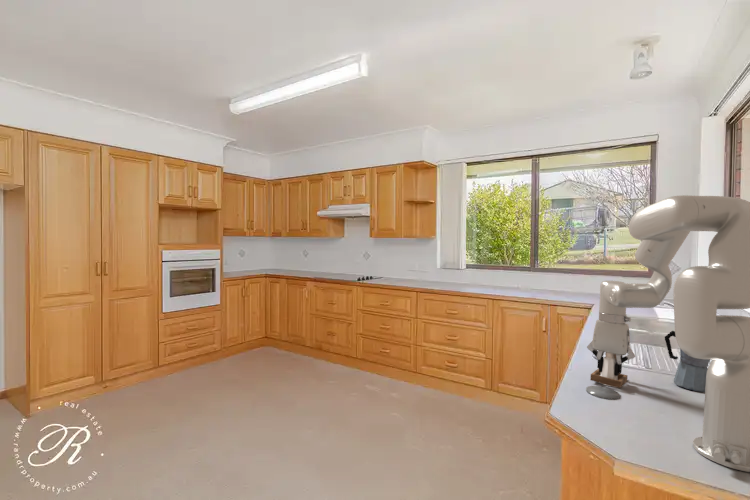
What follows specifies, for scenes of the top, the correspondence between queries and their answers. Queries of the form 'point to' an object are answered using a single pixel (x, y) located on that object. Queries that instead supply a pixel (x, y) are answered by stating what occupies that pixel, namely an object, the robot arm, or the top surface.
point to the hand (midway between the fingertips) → (609, 372)
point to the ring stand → (616, 383)
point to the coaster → (602, 392)
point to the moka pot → (689, 369)
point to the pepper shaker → (609, 367)
